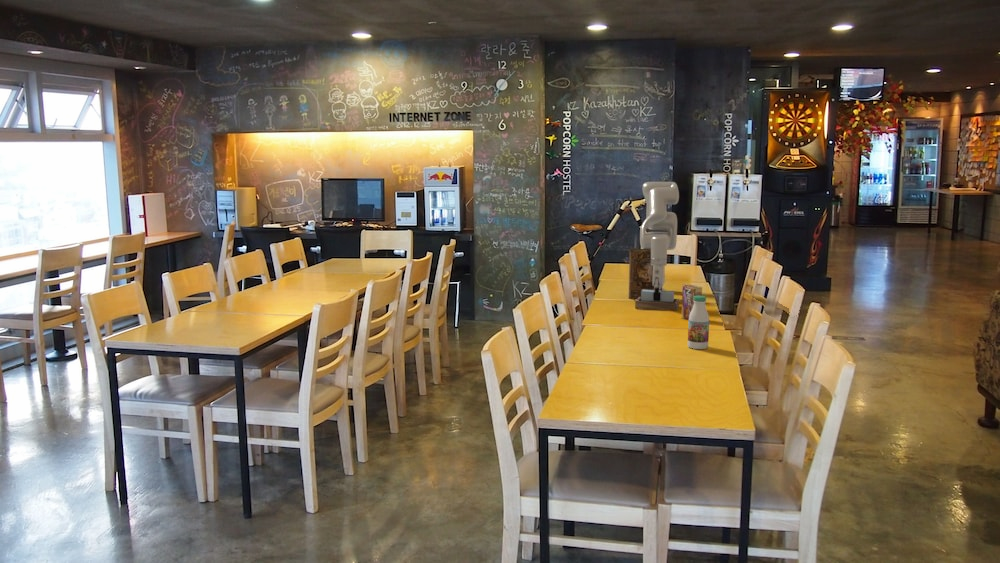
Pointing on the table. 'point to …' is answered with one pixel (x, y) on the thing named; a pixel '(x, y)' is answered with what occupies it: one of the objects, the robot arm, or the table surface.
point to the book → (640, 272)
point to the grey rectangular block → (664, 295)
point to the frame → (657, 305)
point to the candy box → (689, 299)
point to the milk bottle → (698, 324)
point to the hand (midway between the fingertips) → (657, 299)
